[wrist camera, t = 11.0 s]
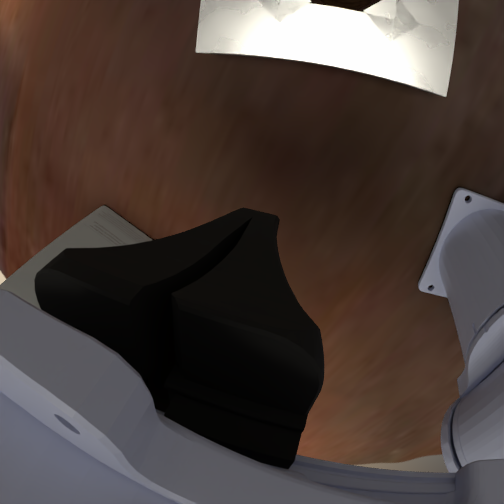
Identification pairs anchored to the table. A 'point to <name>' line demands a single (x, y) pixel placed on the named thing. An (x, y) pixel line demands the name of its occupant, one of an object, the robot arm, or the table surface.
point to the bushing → (347, 3)
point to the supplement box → (79, 236)
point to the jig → (339, 36)
